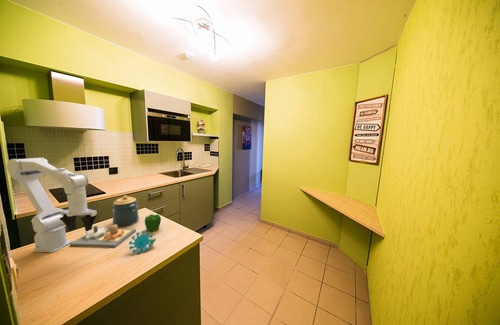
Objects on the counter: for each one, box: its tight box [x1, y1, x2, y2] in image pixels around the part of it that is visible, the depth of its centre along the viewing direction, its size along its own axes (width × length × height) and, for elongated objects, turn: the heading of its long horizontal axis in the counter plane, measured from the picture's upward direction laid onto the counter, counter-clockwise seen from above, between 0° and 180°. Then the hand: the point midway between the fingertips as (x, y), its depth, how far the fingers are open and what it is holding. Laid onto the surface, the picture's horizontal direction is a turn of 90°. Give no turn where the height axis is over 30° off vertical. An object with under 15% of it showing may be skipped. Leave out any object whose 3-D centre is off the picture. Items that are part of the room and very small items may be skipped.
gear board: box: [69, 225, 137, 248], centre depth 84 cm, size 22×14×6 cm, turn 90°
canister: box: [111, 194, 140, 228], centre depth 100 cm, size 13×13×18 cm
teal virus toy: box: [128, 230, 157, 254], centre depth 78 cm, size 11×6×10 cm
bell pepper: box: [144, 213, 162, 232], centre depth 94 cm, size 8×8×10 cm
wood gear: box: [104, 224, 124, 240], centre depth 84 cm, size 8×8×6 cm
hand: (80, 229), depth 73 cm, fingers open, 7 cm apart
